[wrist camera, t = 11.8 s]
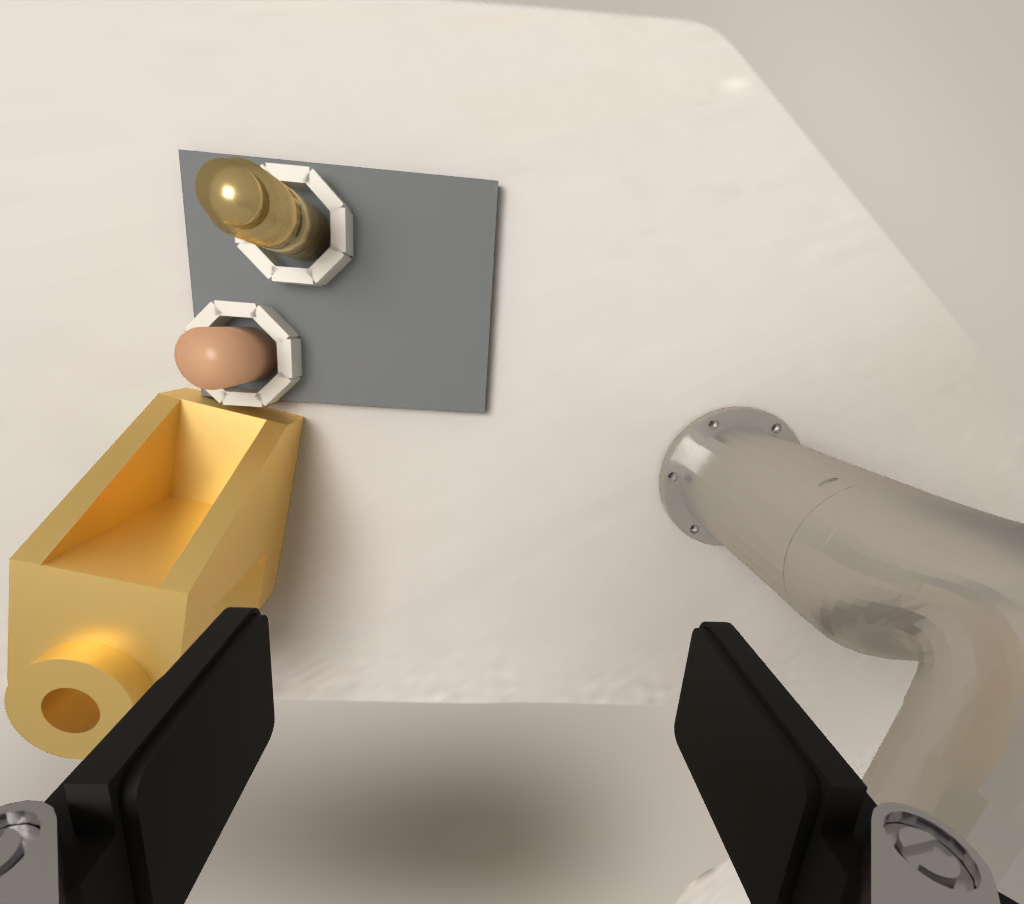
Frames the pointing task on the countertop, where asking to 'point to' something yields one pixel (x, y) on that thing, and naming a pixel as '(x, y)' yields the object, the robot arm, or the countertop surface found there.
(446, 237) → the mat
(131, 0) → the countertop surface
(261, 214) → the gold rounded cylinder
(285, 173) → the white octagonal ring
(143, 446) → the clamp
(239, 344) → the joined fitting
